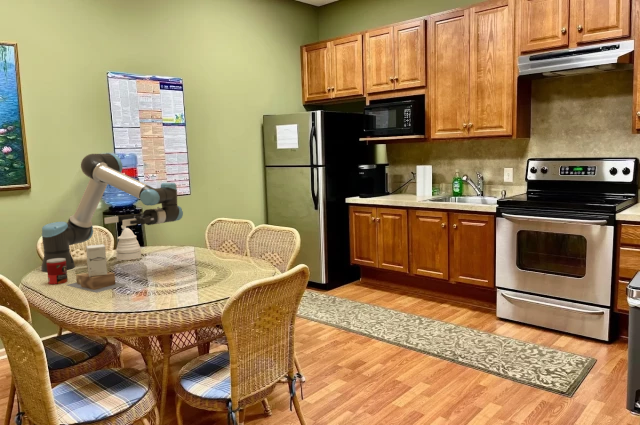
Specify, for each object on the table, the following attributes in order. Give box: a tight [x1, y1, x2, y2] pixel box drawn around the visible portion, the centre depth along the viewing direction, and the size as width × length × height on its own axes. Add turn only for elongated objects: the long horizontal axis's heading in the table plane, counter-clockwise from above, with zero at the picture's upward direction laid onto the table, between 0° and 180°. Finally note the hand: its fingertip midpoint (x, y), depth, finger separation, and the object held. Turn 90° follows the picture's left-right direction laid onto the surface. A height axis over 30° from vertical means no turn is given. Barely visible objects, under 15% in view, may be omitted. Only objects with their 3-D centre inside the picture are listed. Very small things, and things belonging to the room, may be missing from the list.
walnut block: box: [80, 271, 116, 290], centre depth 215 cm, size 10×10×5 cm
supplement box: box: [85, 244, 108, 277], centre depth 214 cm, size 7×7×13 cm
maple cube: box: [75, 272, 88, 284], centre depth 220 cm, size 4×4×4 cm
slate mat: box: [66, 281, 127, 294], centre depth 217 cm, size 24×14×1 cm, turn 56°
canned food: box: [46, 258, 69, 285], centre depth 222 cm, size 8×8×11 cm
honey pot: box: [115, 225, 142, 261], centre depth 275 cm, size 13×13×18 cm
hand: (113, 222), depth 220 cm, fingers open, 13 cm apart
